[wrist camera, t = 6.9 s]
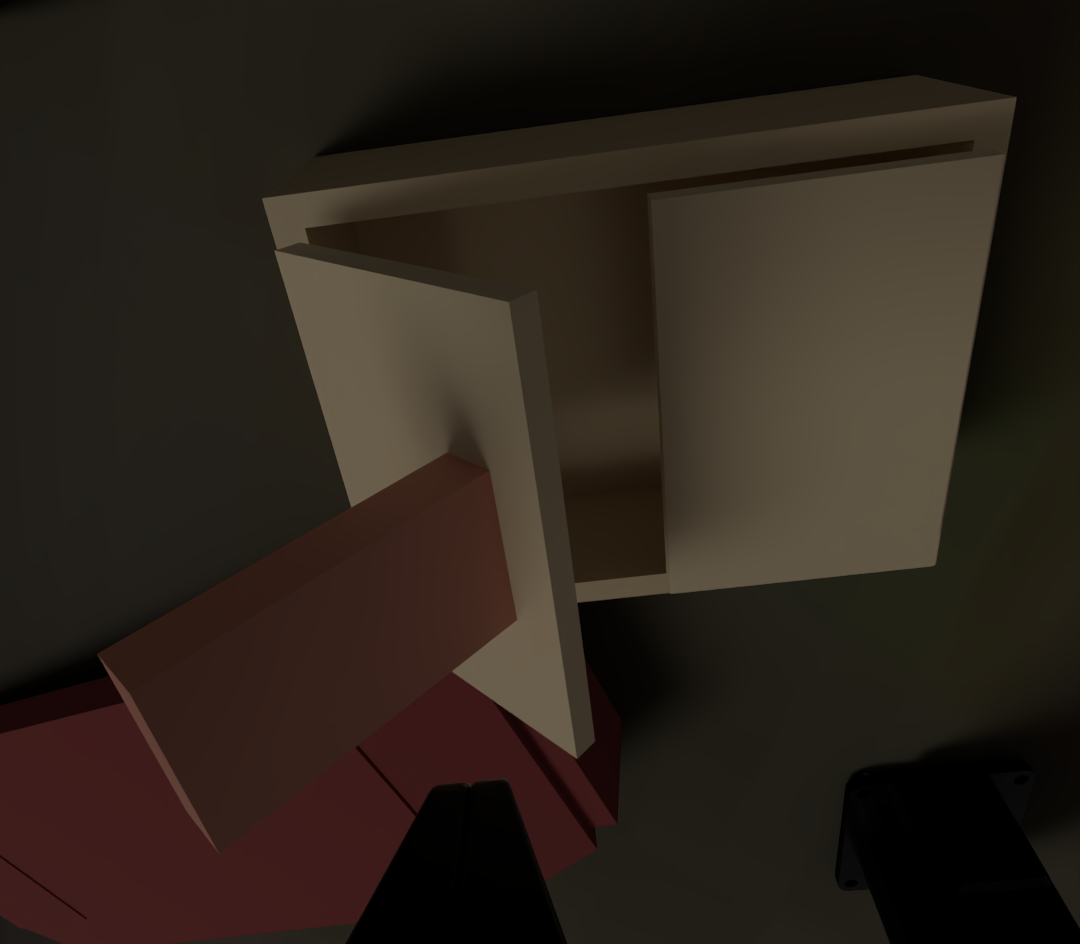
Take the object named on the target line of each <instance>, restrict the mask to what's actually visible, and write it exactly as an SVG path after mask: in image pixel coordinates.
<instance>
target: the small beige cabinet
mask: <svg viewBox="0 0 1080 944" xmlns="http://www.w3.org/2000/svg"><path fill="white" fill-rule="evenodd" d="M1016 99H1017V97H1014V96H1009V95H1005V94H1000V93H996V92H991V91H987V90H982V89H978V88H973V87H969V86H964V85H960V84H955V83H951V82H946V81H942V80H937V79H933V78H928V77H924V76H919V75H911V76H904V77H896V78H889V79H882V80H874V81H867V82H860V83H852V84H845V85H838V86H830V87H823V88H816V89H808V90H801V91H794V92H786V93H779V94H772V95H764V96H757V97H750V98H742V99H735V100H728V101H720V102H713V103H706V104H698V105H691V106H684V107H676V108H669V109H662V110H654V111H647V112H640V113H632V114H625V115H618V116H610V117H603V118H596V119H588V120H581V121H574V122H566V123H559V124H552V125H544V126H537V127H530V128H522V129H515V130H508V131H500V132H493V133H486V134H478V135H471V136H463V137H456V138H449V139H441V140H434V141H427V142H419V143H412V144H405V145H397V146H390V147H383V148H375V149H368V150H361V151H353V152H346V153H339V154H331V155H324V156H317V157H313V158H311V159H310V160H309V161H308V162H307V163H305V164H304V165H303V166H302V167H300V168H299V169H298V170H297V171H295V172H294V173H293V174H292V175H290V176H289V177H288V178H287V179H285V180H284V181H283V182H282V183H280V184H279V185H278V186H277V187H276V188H274V189H273V190H272V191H271V192H269V193H268V194H267V195H266V196H264V197H263V198H262V200H263V203H264V207H265V210H266V213H267V217H268V220H269V223H270V227H271V230H272V234H273V237H274V240H275V244H276V247H277V250H278V249H281V248H284V247H287V246H290V245H293V244H296V243H299V242H301V243H306V244H311V245H316V246H321V247H326V248H331V249H336V250H341V251H346V252H351V253H356V254H361V255H366V256H371V257H376V258H381V259H386V260H391V261H396V262H401V263H406V264H411V265H417V266H422V267H427V268H432V269H437V270H442V271H447V272H452V273H457V274H462V275H467V276H472V277H477V278H482V279H487V280H492V281H497V282H502V283H507V284H512V285H517V286H522V287H527V288H532V289H537V295H538V303H539V310H540V318H541V326H542V334H543V341H544V349H545V357H546V364H547V372H548V380H549V388H550V395H551V403H552V411H553V419H554V426H555V434H556V442H557V450H558V457H559V465H560V473H561V481H562V488H563V496H564V504H565V512H566V519H567V527H568V535H569V543H570V550H571V558H572V566H573V574H574V581H575V589H576V597H577V603H579V602H588V601H597V600H607V599H616V598H626V597H635V596H644V595H654V594H663V593H670V591H669V587H668V583H667V574H666V555H665V535H664V516H663V496H662V476H661V457H660V437H659V417H658V398H657V378H656V358H655V339H654V319H653V299H652V280H651V260H650V241H649V221H648V201H647V194H649V193H657V192H664V191H672V190H680V189H687V188H695V187H703V186H710V185H718V184H725V183H733V182H741V181H748V180H756V179H764V178H771V177H779V176H786V175H794V174H802V173H809V172H817V171H824V170H832V169H840V168H847V167H855V166H863V165H870V164H878V163H885V162H893V161H901V160H908V159H916V158H924V157H931V156H939V155H946V154H954V153H962V152H969V151H977V150H985V149H992V150H995V151H997V152H1000V153H1003V154H1005V157H1004V163H1003V169H1002V175H1001V180H1000V186H999V192H998V198H997V204H996V209H995V215H994V221H993V227H992V232H991V238H990V244H989V250H988V256H987V261H986V267H985V273H984V279H983V284H982V290H981V296H980V302H979V308H978V313H977V319H976V325H975V331H974V336H973V342H972V348H971V354H970V360H969V365H968V371H967V377H966V383H965V389H964V394H963V400H962V406H961V412H960V417H959V423H958V429H957V435H956V441H955V446H954V452H953V458H952V464H951V469H950V475H949V481H948V487H947V493H946V498H945V504H944V510H943V516H942V521H941V527H940V533H939V539H938V545H937V550H936V556H935V562H934V565H935V564H936V558H937V552H938V547H939V541H940V535H941V529H942V524H943V518H944V512H945V506H946V501H947V495H948V489H949V484H950V478H951V472H952V466H953V461H954V455H955V449H956V443H957V438H958V432H959V426H960V420H961V415H962V409H963V403H964V397H965V392H966V386H967V380H968V374H969V369H970V363H971V357H972V351H973V346H974V340H975V334H976V328H977V323H978V317H979V311H980V305H981V300H982V294H983V288H984V283H985V277H986V271H987V265H988V260H989V254H990V248H991V242H992V237H993V231H994V225H995V219H996V214H997V208H998V202H999V196H1000V191H1001V185H1002V179H1003V173H1004V168H1005V162H1006V156H1007V150H1008V145H1009V139H1010V133H1011V127H1012V122H1013V116H1014V110H1015V104H1016Z"/></svg>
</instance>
